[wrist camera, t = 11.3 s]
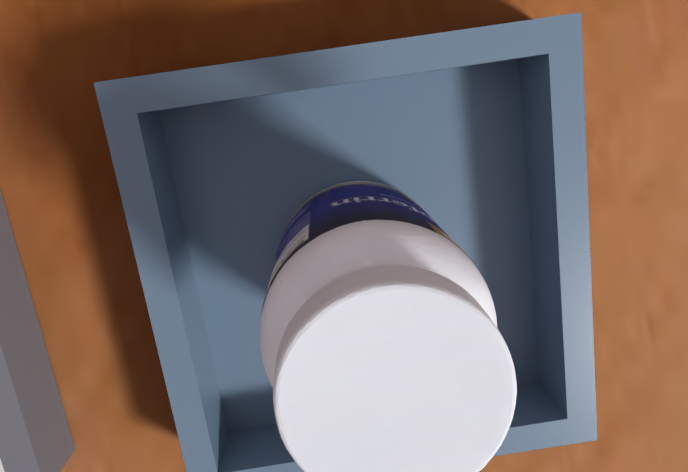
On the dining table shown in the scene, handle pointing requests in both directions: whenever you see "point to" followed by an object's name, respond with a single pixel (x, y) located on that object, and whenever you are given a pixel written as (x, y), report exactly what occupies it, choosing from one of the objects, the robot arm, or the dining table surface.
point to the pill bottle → (382, 340)
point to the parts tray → (360, 165)
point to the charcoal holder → (26, 375)
